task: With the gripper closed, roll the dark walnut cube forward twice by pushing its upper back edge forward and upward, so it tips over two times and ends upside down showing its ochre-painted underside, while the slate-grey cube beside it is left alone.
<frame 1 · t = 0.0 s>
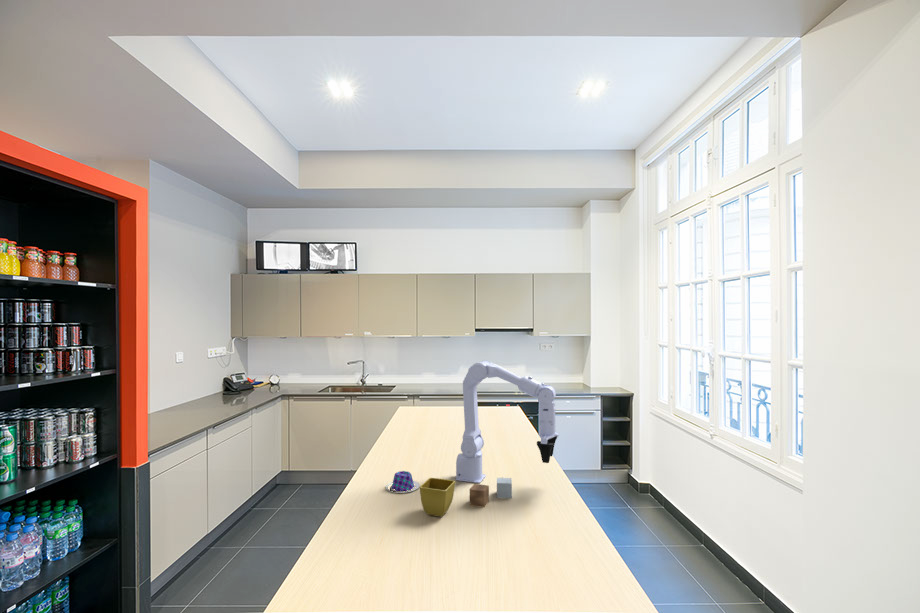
hand: (547, 459, 157), 10 cm above the table, tool pointing down, fingers open, 7 cm apart
walnut cube: (479, 503, 145), on the table
flower pot: (437, 513, 138), on the table
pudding: (402, 488, 159), on the table
slate-grey cube: (504, 495, 151), on the table
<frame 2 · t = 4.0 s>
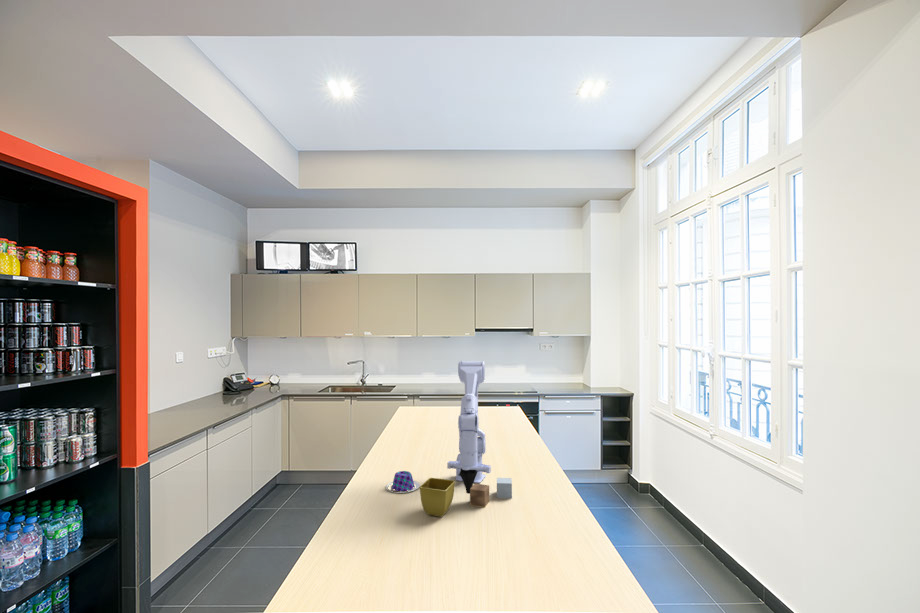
hand: (469, 492, 146), 3 cm above the table, tool pointing down, fingers closed
walnut cube: (479, 503, 145), on the table, touching gripper
everything else where it was.
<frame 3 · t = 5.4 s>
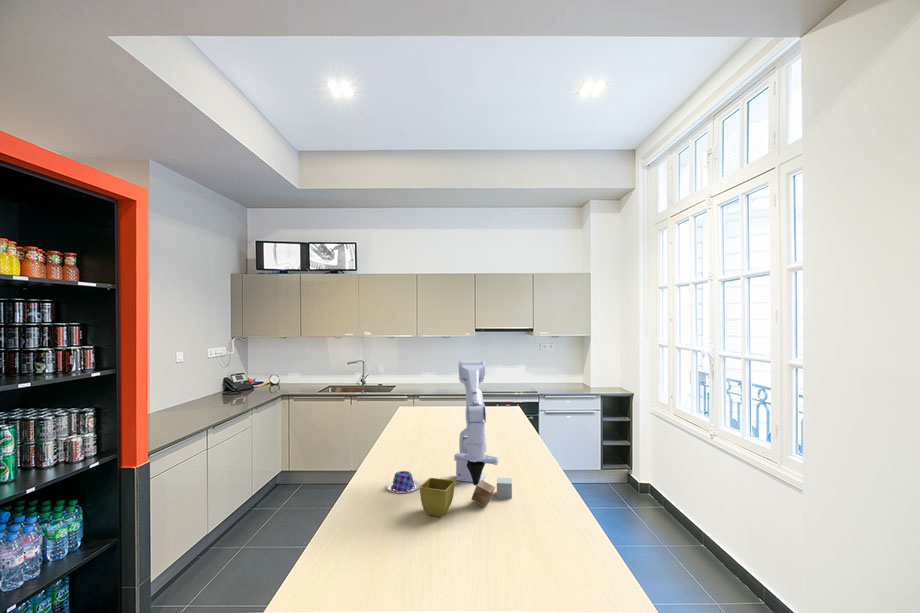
hand: (476, 484, 145), 6 cm above the table, tool pointing down, fingers closed
walnut cube: (480, 500, 144), point 1 cm above the table, tilted 22°, touching gripper
everything else where it was.
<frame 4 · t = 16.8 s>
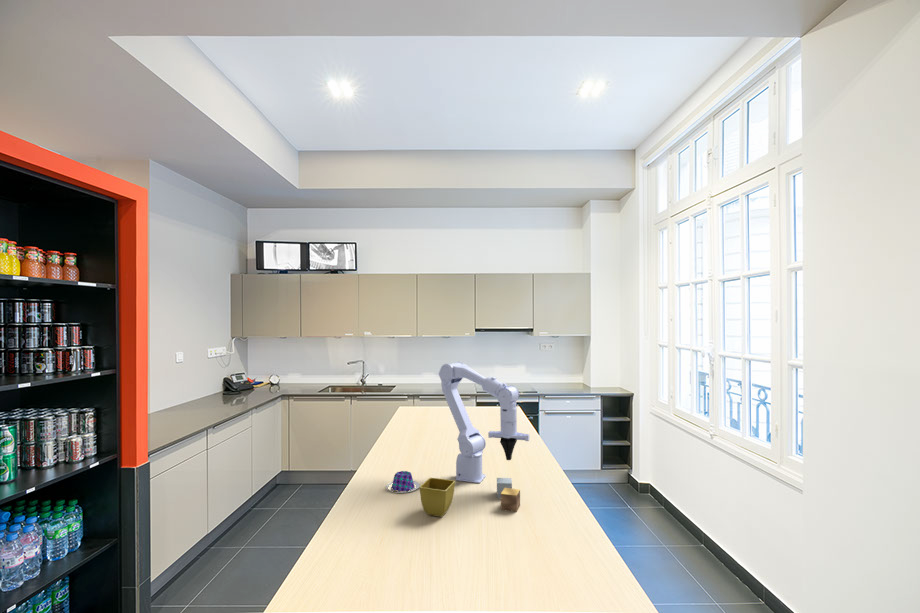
hand: (508, 459, 158), 10 cm above the table, tool pointing down, fingers closed
walnut cube: (510, 491, 141), point 5 cm above the table, tilted 180°
at the end: walnut cube tilted 180°; walnut cube inside the target area (1.1 cm from its centre), point 5.1 cm above the table; slate-grey cube moved 0.1 cm from its start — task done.
